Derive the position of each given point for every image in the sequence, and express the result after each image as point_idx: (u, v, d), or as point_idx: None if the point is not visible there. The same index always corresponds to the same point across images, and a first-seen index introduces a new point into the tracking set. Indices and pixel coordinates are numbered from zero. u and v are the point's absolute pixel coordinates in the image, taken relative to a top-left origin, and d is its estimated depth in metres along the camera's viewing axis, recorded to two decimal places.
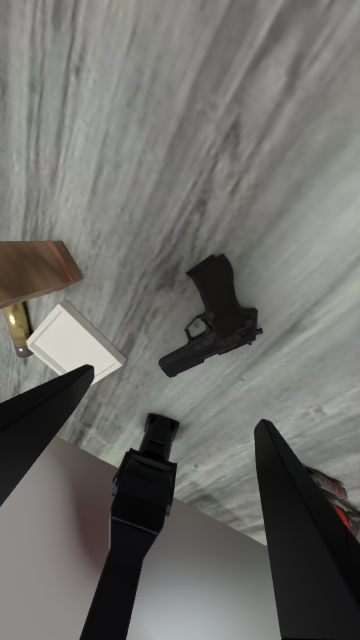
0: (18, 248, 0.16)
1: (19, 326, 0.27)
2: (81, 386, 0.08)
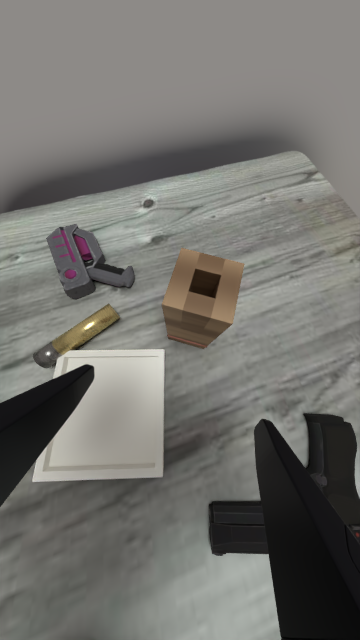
0: None
1: (89, 333, 0.21)
2: (81, 386, 0.08)
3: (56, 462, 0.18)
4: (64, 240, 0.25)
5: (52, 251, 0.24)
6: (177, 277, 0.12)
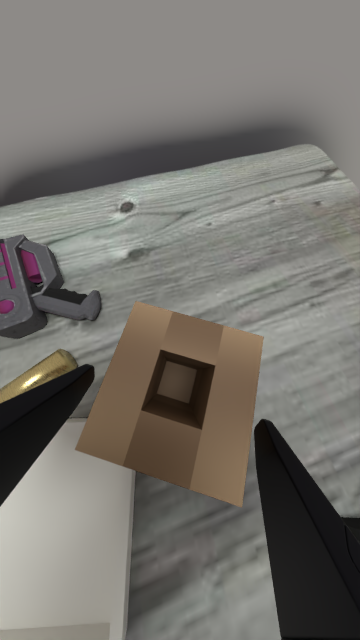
0: None
1: None
2: (81, 386, 0.08)
3: None
4: (3, 257, 0.18)
5: None
6: (120, 373, 0.06)
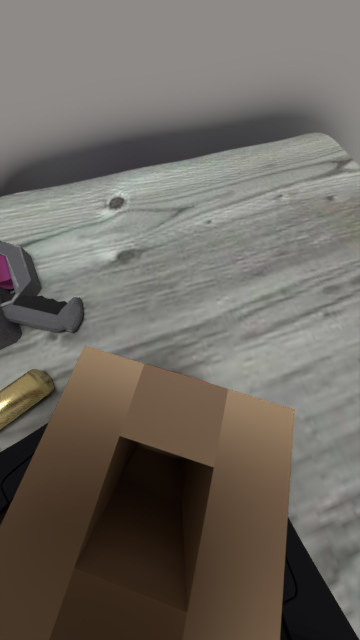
0: None
1: None
2: None
3: None
4: None
5: None
6: (45, 486, 0.03)
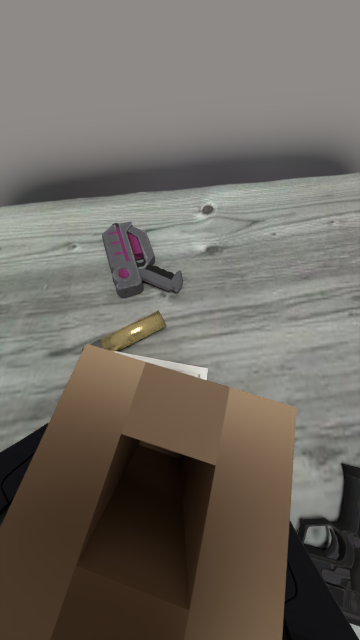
0: None
1: (137, 338, 0.21)
2: None
3: None
4: (119, 237, 0.25)
5: (107, 248, 0.24)
6: (46, 484, 0.03)
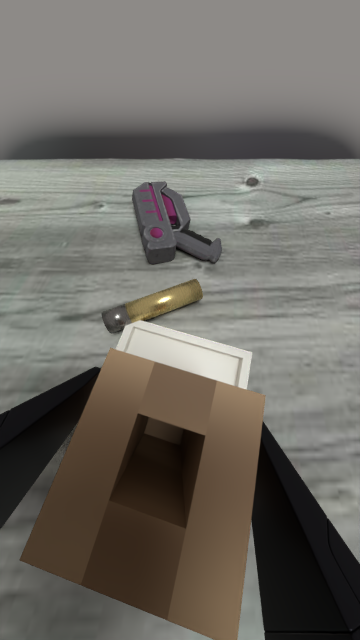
0: None
1: (167, 307, 0.17)
2: (91, 389, 0.08)
3: None
4: (151, 196, 0.22)
5: (138, 205, 0.21)
6: (85, 447, 0.04)
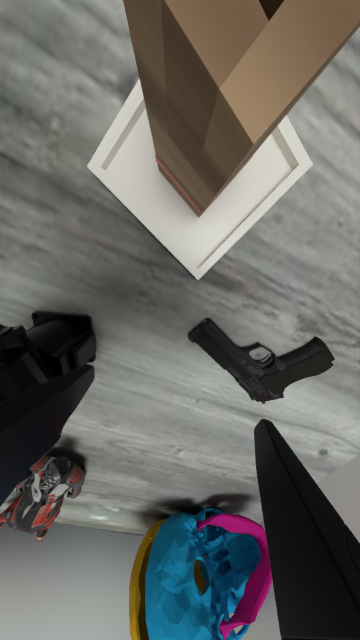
0: (269, 134, 0.09)
1: None
2: (81, 386, 0.08)
3: (115, 174, 0.14)
4: None
5: None
6: None
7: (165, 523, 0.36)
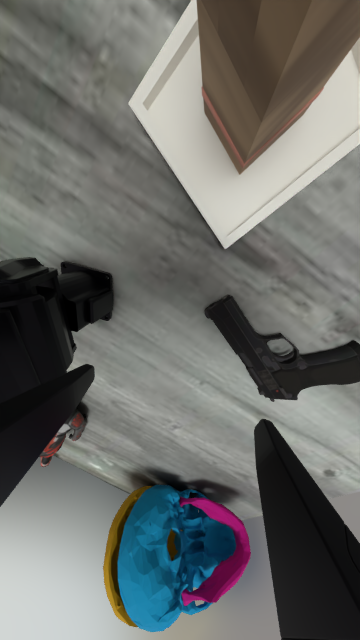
0: (353, 37, 0.07)
1: None
2: (81, 386, 0.08)
3: (156, 116, 0.13)
4: None
5: None
6: None
7: (150, 489, 0.38)
